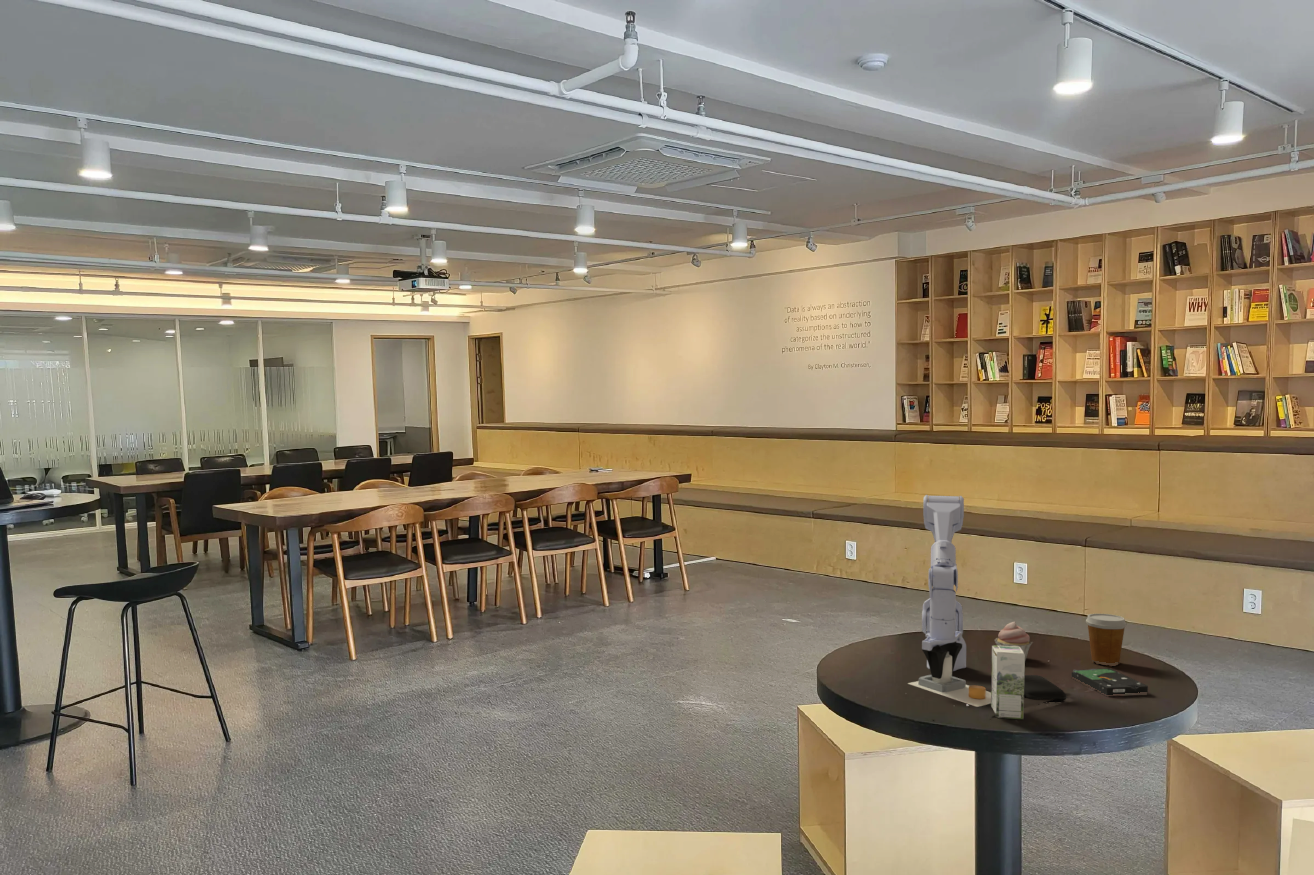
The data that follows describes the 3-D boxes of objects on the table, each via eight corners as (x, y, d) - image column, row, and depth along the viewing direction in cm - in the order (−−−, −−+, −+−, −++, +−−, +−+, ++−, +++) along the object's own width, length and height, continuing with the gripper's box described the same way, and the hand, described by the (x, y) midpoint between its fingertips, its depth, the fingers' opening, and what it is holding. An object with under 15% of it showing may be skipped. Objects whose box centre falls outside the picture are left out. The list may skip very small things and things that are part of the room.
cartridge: (941, 681, 218) (941, 648, 218) (955, 686, 214) (956, 652, 214) (928, 684, 216) (928, 650, 216) (942, 689, 212) (943, 655, 212)
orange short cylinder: (975, 693, 209) (975, 684, 209) (989, 697, 206) (989, 688, 206) (965, 695, 207) (965, 686, 207) (978, 700, 204) (978, 691, 204)
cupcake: (1034, 665, 236) (1034, 626, 236) (995, 662, 239) (996, 624, 238) (1030, 656, 245) (1030, 618, 245) (993, 653, 248) (993, 616, 247)
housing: (939, 680, 223) (939, 670, 223) (1009, 702, 206) (1010, 691, 206) (907, 687, 217) (907, 677, 217) (977, 711, 200) (977, 699, 200)
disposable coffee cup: (1089, 656, 245) (1089, 611, 244) (1128, 662, 239) (1129, 616, 239) (1081, 664, 237) (1082, 618, 236) (1122, 670, 231) (1123, 623, 231)
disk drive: (1149, 697, 211) (1109, 678, 226) (1149, 685, 211) (1109, 667, 226) (1107, 699, 210) (1070, 680, 225) (1107, 687, 210) (1070, 668, 225)
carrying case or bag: (996, 685, 220) (1022, 705, 205) (997, 673, 220) (1022, 691, 205) (1041, 685, 220) (1069, 705, 205) (1041, 672, 220) (1070, 691, 205)
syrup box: (1018, 711, 200) (1019, 645, 199) (1024, 720, 194) (1025, 652, 194) (990, 709, 201) (991, 643, 200) (995, 718, 195) (996, 650, 195)
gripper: (943, 610, 222) (942, 666, 223) (910, 619, 213) (910, 677, 213) (970, 615, 217) (969, 672, 218) (938, 624, 207) (937, 684, 208)
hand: (942, 675), depth 215 cm, fingers closed on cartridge, 4 cm apart
